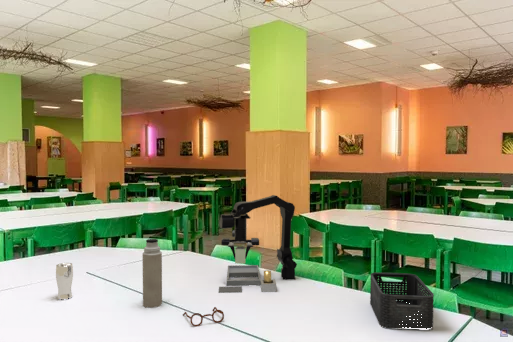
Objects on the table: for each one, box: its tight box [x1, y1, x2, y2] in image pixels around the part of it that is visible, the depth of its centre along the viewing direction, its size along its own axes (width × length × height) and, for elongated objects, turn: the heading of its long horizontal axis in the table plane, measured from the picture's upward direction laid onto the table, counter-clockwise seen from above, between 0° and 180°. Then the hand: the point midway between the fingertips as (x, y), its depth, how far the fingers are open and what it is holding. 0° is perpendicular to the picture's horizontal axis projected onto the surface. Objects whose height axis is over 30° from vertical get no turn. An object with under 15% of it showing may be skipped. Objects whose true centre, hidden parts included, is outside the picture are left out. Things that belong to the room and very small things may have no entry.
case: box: [225, 264, 262, 287], centre depth 219 cm, size 17×30×2 cm, turn 3°
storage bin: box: [369, 272, 435, 329], centre depth 166 cm, size 29×19×13 cm
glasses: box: [182, 306, 225, 327], centre depth 163 cm, size 13×13×5 cm
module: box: [234, 246, 246, 265], centre depth 208 cm, size 5×5×8 cm
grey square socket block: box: [259, 278, 277, 293], centre depth 198 cm, size 7×7×4 cm
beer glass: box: [55, 262, 74, 300], centre depth 186 cm, size 7×7×15 cm
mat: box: [217, 286, 243, 294], centre depth 198 cm, size 11×8×1 cm
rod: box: [263, 269, 272, 283], centre depth 198 cm, size 4×4×8 cm
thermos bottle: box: [142, 238, 163, 309], centre depth 178 cm, size 8×8×28 cm
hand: (240, 258), depth 208 cm, fingers closed on module, 5 cm apart
